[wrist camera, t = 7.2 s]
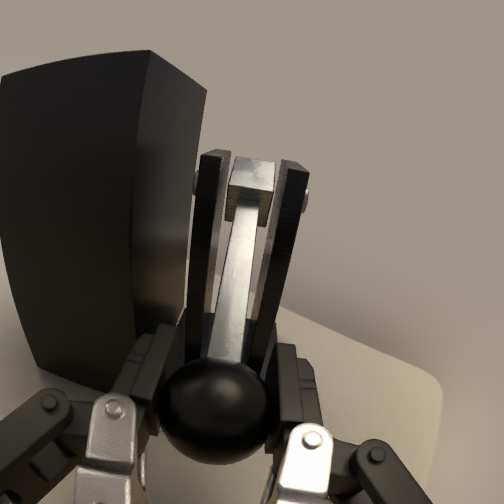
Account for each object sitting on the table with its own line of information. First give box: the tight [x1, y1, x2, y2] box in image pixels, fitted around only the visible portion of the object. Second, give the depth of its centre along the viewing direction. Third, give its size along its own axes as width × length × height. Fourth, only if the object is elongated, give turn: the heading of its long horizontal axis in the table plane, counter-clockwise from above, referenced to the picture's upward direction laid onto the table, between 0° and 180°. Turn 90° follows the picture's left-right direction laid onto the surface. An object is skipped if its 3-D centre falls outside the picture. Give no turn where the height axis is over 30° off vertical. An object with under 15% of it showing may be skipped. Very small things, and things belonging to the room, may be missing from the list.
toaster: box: [0, 50, 207, 393], centre depth 17 cm, size 12×9×19 cm
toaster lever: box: [158, 157, 275, 465], centre depth 11 cm, size 14×4×4 cm, turn 178°
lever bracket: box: [177, 149, 310, 382], centre depth 17 cm, size 10×8×15 cm
